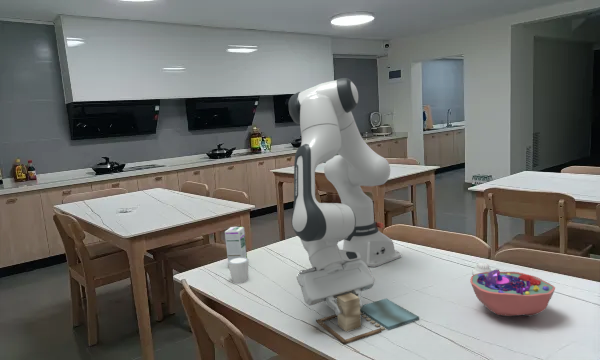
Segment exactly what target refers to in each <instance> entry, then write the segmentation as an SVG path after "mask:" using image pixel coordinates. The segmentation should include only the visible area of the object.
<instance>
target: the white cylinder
mask: <svg viewBox="0 0 600 360" xmlns="http://www.w3.org/2000/svg"><path fill="white" fill-rule="evenodd" d="M228 263H229V266H228V269H229V272H230V277H231V282H232V283H235V284H241V283H246V282H247V281H249V258H248V257H247V258H244V257H239V258H233V259H231V260H229V261H228V260H227V264H228Z"/></svg>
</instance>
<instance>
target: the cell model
mask: <svg viewBox="0 0 600 360" xmlns="http://www.w3.org/2000/svg"><path fill="white" fill-rule="evenodd" d="M470 284H471V286H472V289H473V292H474V294H475V297H476V298H477V300H479V302H480V303H481V304H482V305H483V306H484V307H485V308H487V309H488V310H489V311H491V312H492V313H494V314H496V315H497V316H503V317H505V316H506V317H515V316H525V317H528V316H529V317H530V316H531V317H532V316H535V315H538V314H540V313H542V312H543V311H544V310H545V309H547V307H548V305H549V303H550V300H551V299H552V298H553V294H554V293H555V290H556V287H555V286H554V285H552V284H551V283H549V282H547V281H545V280H544V279H542V278H539V277H537V276H535V275H531V274H527V273H523V272H518V271H501V270H500V269H496V268H495V269H493V270H492V271H490V272H483V273H478V274H475V275H473V274H472V276H471V277H470Z"/></svg>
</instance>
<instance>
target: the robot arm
mask: <svg viewBox="0 0 600 360" xmlns="http://www.w3.org/2000/svg"><path fill="white" fill-rule="evenodd" d="M358 104H359V92H358V88H357V86H356V85H355V84H354V82H353V80H351V79H349V78H348V77H342V78H337V79H336V80H330V81H326V82H322V83H318V84H317V85H315V86H311V87H310V88H307V89H304V90H302V91H298V92H295V93H294V94H292V95H291V97H289V100H288V111H289V115H290V117H291V119H292V120H293V123H295V124H297V125H298V126H299V127H300V135H301V143H300V146H299V147H298V148H297V149H296V151H295V155H294V163H293V208H292V214H291V228H292V230H293V231H294V233H295V234H296V236H297V237H298V238H299V239H300V242H301V244H302V247H303V249H304V251H306V253H307V255H308V260H309V263H310V266H311V267H309V268H307V269H302V270H300V271H299V272H298V273H297V274H296V280H297V283H298V285H299V286H300V290H301V292H302V297H303V300H304V302H305V304H307V305H308V306H313V305H317V304H320V303H324V302H325V303H326V305H327V306H328V307H329V308H331V309H332V310H333V311H334V313H335V314H336V315H341V314H342V313H343V309H342V307H341V306H338V305H337V303H336V302H334V301H335V299H337V297H336V296H340V295H343V294H347V293H353V294H354V295H356V296H358V297H359V298H360V309H361V308H362V307H363V303H362V300H361V298H362V297H361V296H362V292H363V291H367V290H370V289H371V288H372V287H373V286H374V284H375V277H374V276H373V273H372V271H371V270H370V268H369V267H373V268H375V267H378V266H381V265H384V264H386V263H389V262H391V261H394V260H398V259H400V258H402V253H401V252H400V251H399V250H396V249H395V244H394V242H393V240H392V239H391V238H390V237H388V236H387V235H386V234H384V233H382V232H381V230H379V229H383V228H384V226H385V225H384V223H383V222H381V221H375V214H374V212H375V211H374V202H373V200H372V198H370V196H368V195H367V194H366V193H365V192H364V191H363V189H362V187H375V186H381V185H382V186H383V185H384V184H385V183H386V182H388V181H389V180H388V179H389V178H390V175H391V165H390V163H389V161H388V159H386V158H385V157H383V156H382V155H380V154H378V153H377V152H376V151H374V150H373V149H372V148H371V147H370V146H369V145H368V144H367V143H366V141H365V140H364V138H363V137H362V135H361V133H360V131H359V128H358V126H357V123H356V120H355V118H354V117H355V116H354V115H353V112H352V111H354V110H355V109H356V108H357V106H358ZM324 163H325V164H324ZM322 164H324V166H323V170H324V176H325V179H327V181H328V182H330V183H331V184H332V185H333V187H334V188H335V190H336V191H337V194H338V196H339V199H340V202H341V203H339V202H319V201H318V200H317V198H316V177H315V176H316V169H317V167H318V166H319V165H322ZM342 241H343V247H342V249H340V247H339V246H338V245H339V244H338V243H339V242H342ZM335 314H334V315H335Z"/></svg>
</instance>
